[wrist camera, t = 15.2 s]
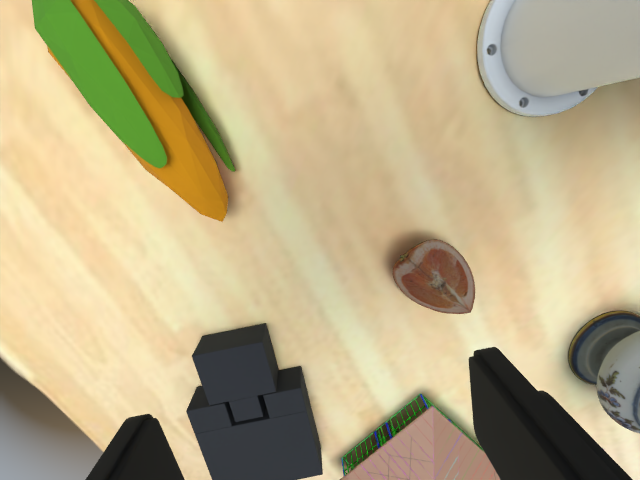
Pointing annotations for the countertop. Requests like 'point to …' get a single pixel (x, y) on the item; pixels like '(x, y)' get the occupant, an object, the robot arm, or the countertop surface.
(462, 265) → the fruit slice
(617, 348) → the apothecary jar
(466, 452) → the house
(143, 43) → the corn
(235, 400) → the tab pad
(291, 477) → the notch pad
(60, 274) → the countertop surface
